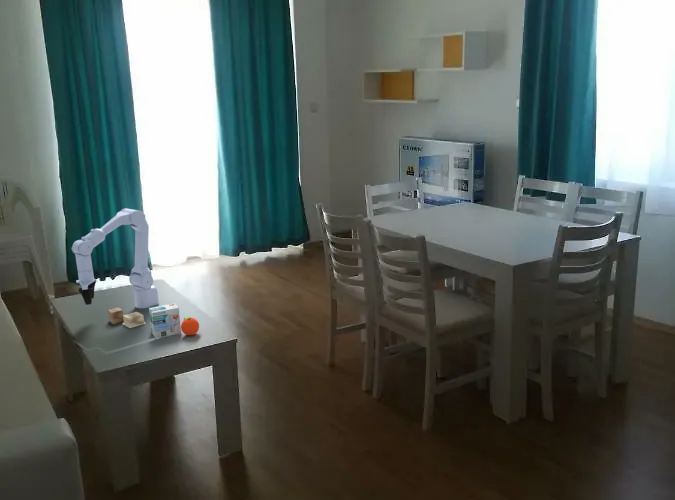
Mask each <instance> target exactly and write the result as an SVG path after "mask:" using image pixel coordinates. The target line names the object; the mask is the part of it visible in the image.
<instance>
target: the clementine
mask: <svg viewBox="0 0 675 500" xmlns="http://www.w3.org/2000/svg"><path fill="white" fill-rule="evenodd" d="M180 326H181V332H182V334H183V333H184V334H185V335H186V336H194V335H196V334H197V333H198V331H199V329H200V323H199V321H198V320H197V319H196V318H194V317H191V316H187V317H184V318H183V320H182V322H181V323H180Z"/></svg>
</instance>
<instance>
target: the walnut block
mask: <svg viewBox="0 0 675 500" xmlns="http://www.w3.org/2000/svg"><path fill="white" fill-rule="evenodd" d="M123 315H124V311H123V309H122V308H120V307H114V308H111V309H108V310H107V316H108V322H109V323H111V324H112V325H115V324H119V323H124V319H123Z"/></svg>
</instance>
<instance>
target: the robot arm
mask: <svg viewBox="0 0 675 500" xmlns="http://www.w3.org/2000/svg"><path fill="white" fill-rule="evenodd" d="M120 226H130V227H131V228H132V229H133V230H134V231H135V234H134V236H135V240H134V266H132V267H133V268H131V272H130V276H129V280H128V281H129V283H130V284H131V286H132V288H133V295H134V296H133V297H134V304H135V308H137V309H147V308H148V309H149V308H152V307H154V306H156V305H157V306H158V305H159V303H160V302H159V295H158V294H159V293H158V289H157V287H156V286H155V285H153V284H154V279H153V276H152V270H151V269H150V268H149V264H148V263H149V224H148V221H147V219H146V214H145V213H144V212H142V211H141V210H138V209H131V208H122V209H121V210H120V211H118V212H117V213H116V215H115V216H113V217H112V218H111V219H110V220H108V221H107V222H106V223H105V224H104V225H103V226H101V227H100V228H92V229H90V232H89V233H88V234H86V235H85V236H82V237H81V239H78V240H75V241H74V242H73V244H72V246H71V252H72V253H73V254H74V255H75V263H76V268H77V275H78V276H77V277H78V279H77V280H75V281H76V284H79V285H80V286H81V287H79V288H78V289H77V290H78V292H79V294H80V295H81V296H82V298H83V301H84V304H85V305H86V306H87V305H89V306H90V305H92V300H93V299H94V297H95V286H96V283H97V279H95V276H94V275H95V274H94V269H93V262H92V256H91V255H92V252H93V249H94V248H95V247H97V246H98V245H100V244H101V243H103V242H105V239H106V236H107V235H108V234H110V233H111V232H113V231H115V230H116V229H117V228H118V227H120Z"/></svg>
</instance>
